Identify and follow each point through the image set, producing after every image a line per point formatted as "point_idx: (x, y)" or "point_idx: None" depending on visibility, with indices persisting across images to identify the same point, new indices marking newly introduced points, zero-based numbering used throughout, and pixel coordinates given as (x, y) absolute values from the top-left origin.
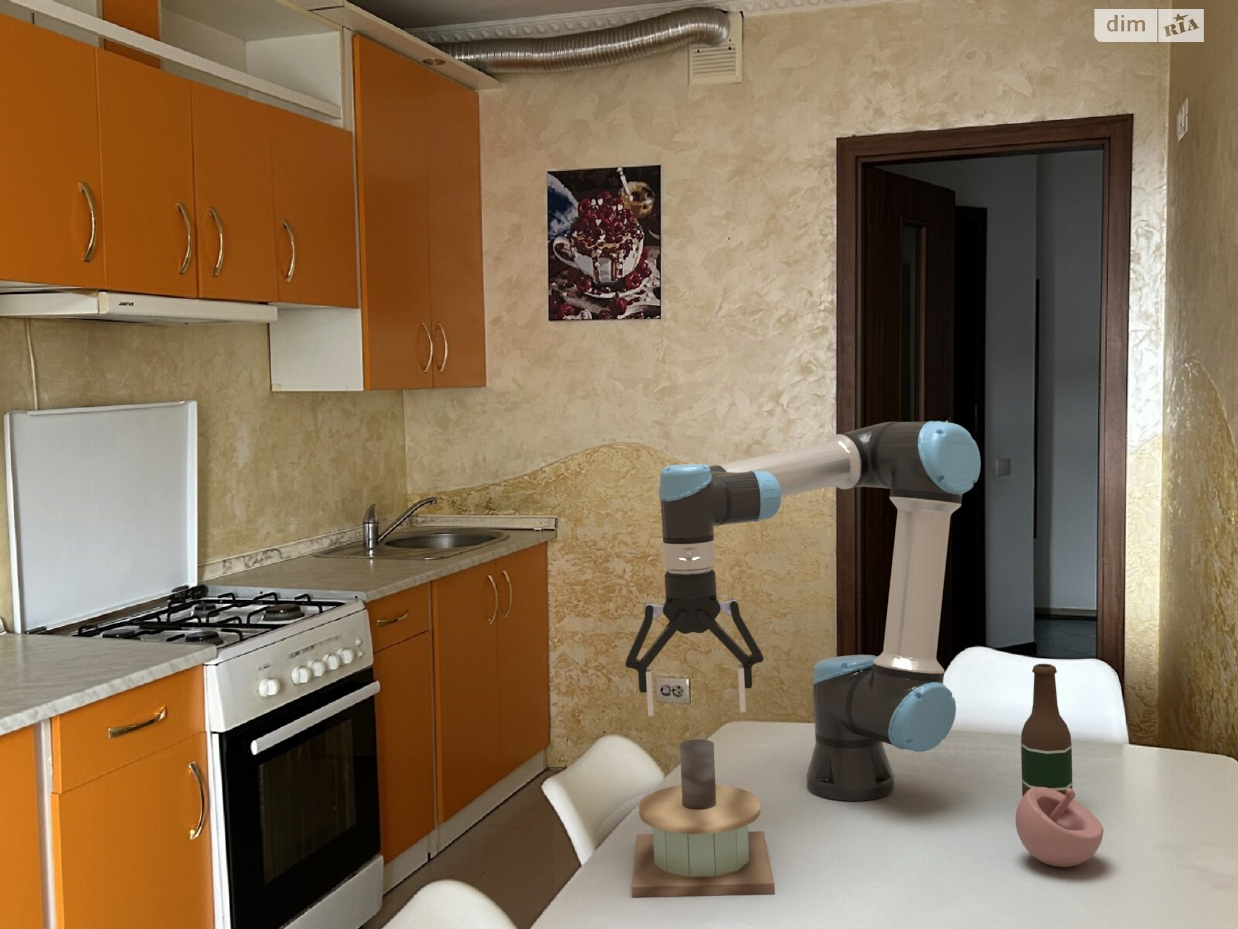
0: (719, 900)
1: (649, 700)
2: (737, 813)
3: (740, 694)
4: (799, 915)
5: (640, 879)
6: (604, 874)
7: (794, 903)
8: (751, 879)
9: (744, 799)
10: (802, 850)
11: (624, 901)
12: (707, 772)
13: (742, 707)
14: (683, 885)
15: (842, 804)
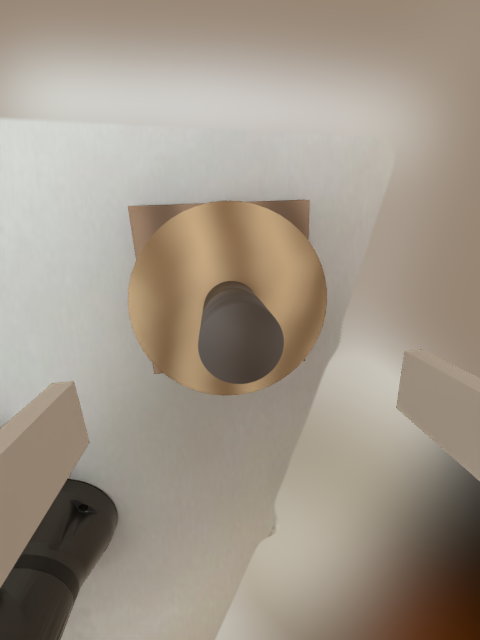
0: (200, 190)
1: (468, 378)
2: (164, 261)
3: (19, 431)
4: (94, 136)
5: (299, 223)
6: (336, 271)
7: (104, 177)
8: (159, 220)
9: (157, 328)
10: (107, 342)
11: (314, 190)
12: (214, 299)
13: (53, 392)
14: (246, 202)
15: (71, 472)
